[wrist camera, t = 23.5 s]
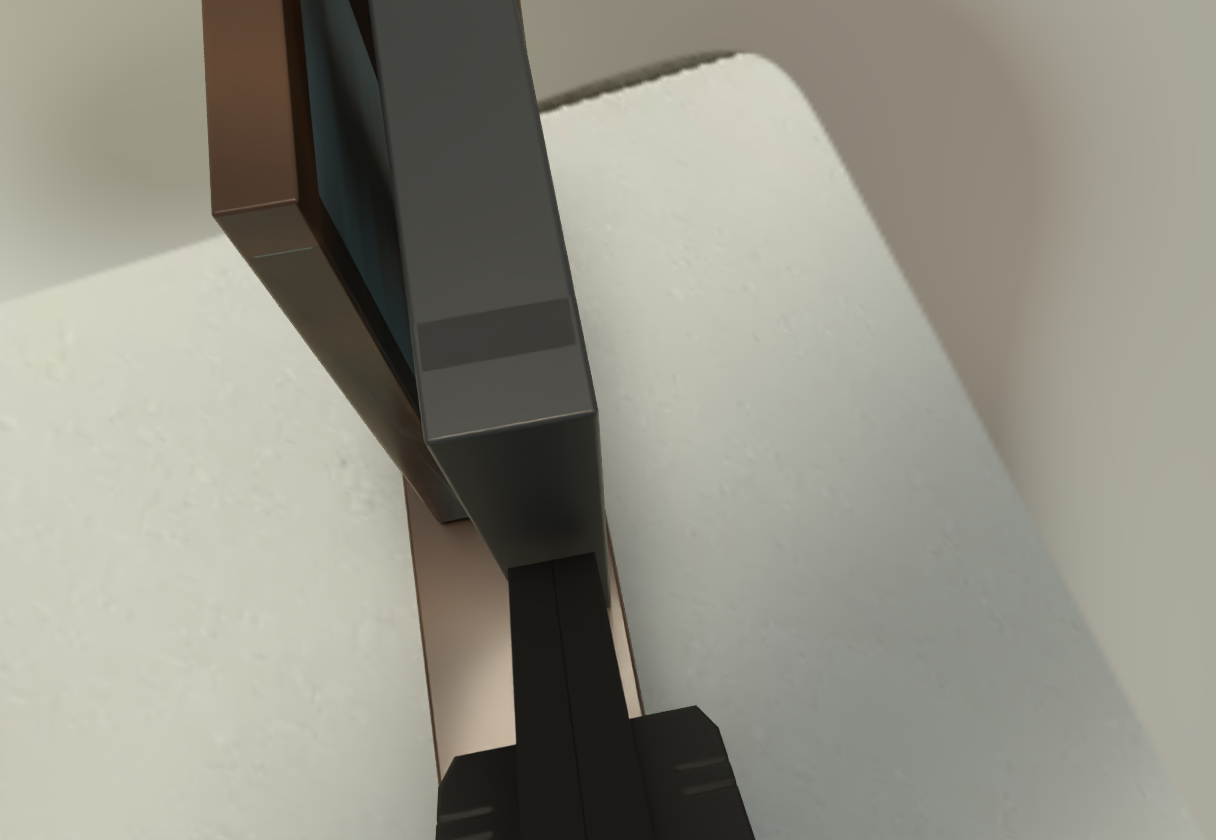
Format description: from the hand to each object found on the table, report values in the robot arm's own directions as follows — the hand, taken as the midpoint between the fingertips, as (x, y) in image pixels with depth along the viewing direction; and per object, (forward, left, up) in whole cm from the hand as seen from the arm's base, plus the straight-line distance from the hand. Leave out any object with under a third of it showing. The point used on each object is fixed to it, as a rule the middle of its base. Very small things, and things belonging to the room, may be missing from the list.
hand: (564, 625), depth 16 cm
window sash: (+2, -5, -6) cm, 9 cm away
